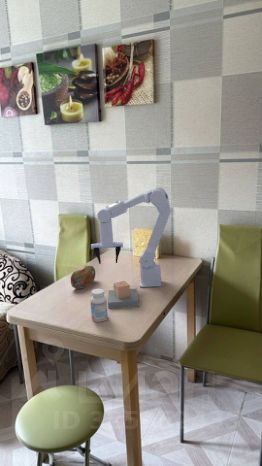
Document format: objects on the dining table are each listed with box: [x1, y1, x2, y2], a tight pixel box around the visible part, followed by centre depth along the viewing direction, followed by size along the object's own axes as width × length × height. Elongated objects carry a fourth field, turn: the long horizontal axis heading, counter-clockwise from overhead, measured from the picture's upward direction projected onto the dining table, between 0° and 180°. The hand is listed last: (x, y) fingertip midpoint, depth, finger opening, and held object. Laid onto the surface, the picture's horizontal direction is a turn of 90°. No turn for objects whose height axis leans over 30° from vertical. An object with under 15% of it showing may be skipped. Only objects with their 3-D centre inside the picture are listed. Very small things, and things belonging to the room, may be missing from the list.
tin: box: [70, 265, 96, 290], centre depth 164 cm, size 15×3×8 cm, turn 147°
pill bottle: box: [89, 288, 109, 323], centre depth 132 cm, size 6×6×11 cm
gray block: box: [107, 288, 139, 309], centre depth 147 cm, size 12×12×3 cm
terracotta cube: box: [113, 280, 131, 299], centre depth 146 cm, size 5×5×5 cm
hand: (108, 262), depth 164 cm, fingers open, 7 cm apart
